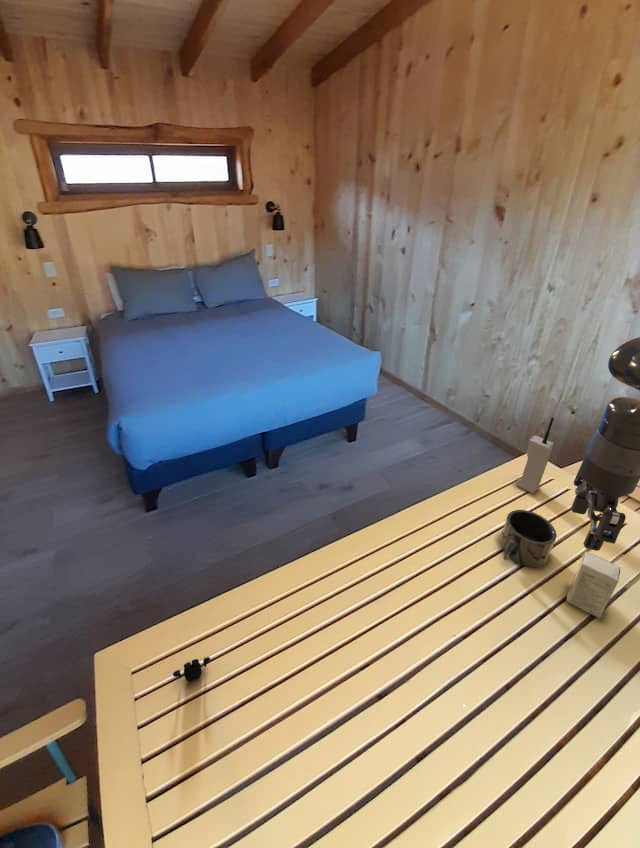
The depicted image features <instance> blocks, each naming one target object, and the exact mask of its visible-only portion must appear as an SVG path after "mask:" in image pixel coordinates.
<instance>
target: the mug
mask: <svg viewBox="0 0 640 848" xmlns="http://www.w3.org/2000/svg"><path fill="white" fill-rule="evenodd" d="M556 539H557V531H556V529H555V527H554V525H552V523H551V522H550V521H549V520H548V519H547V518H545V517H543V516H542V515H540V514H538V513H536V512H533V511H530V510H526V509H516V510H512V511H510V512H509V513H508V514H507V516H506V519H505V523H504V525H503V528H502V532H501V534H500V537H499V545H500V548H501V550H502V551H503V557H502V558H503V560H504V561H509V560H512V561H513V562H515V563H516V564H518V565H521V566H524V567H527V568H540V567H543V566H544V565H546V563H547V561H548V559H549V558H550V557H549V556H550V555H551V552H552V549H553V547H554V544H555V542H556Z"/></svg>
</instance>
